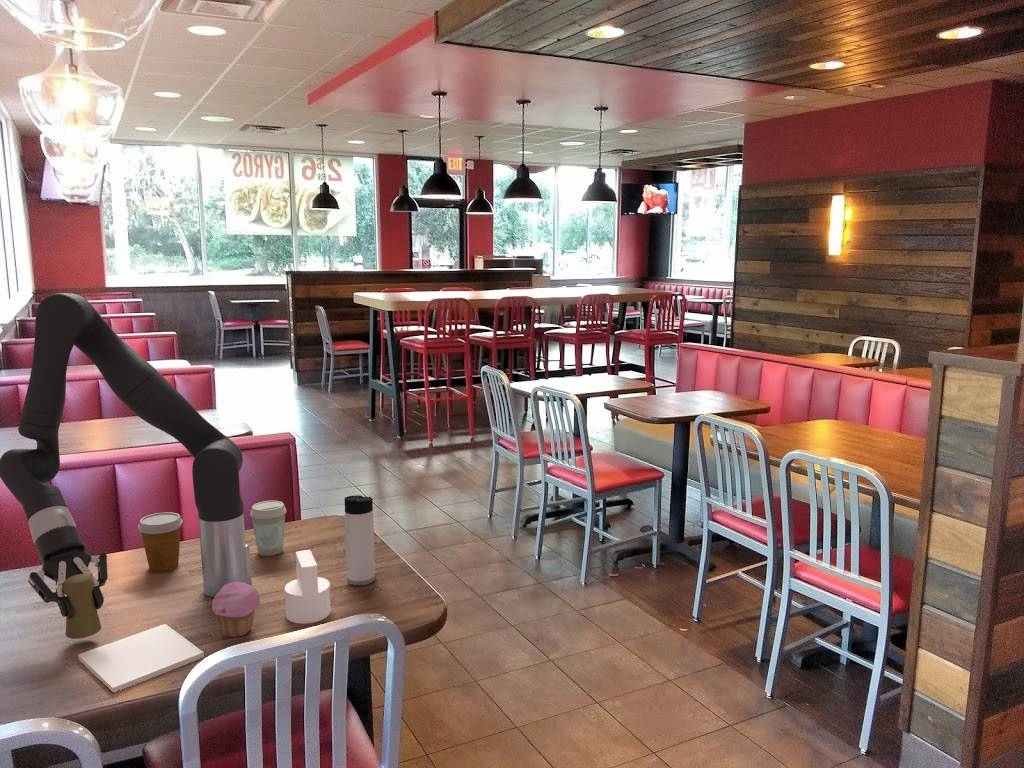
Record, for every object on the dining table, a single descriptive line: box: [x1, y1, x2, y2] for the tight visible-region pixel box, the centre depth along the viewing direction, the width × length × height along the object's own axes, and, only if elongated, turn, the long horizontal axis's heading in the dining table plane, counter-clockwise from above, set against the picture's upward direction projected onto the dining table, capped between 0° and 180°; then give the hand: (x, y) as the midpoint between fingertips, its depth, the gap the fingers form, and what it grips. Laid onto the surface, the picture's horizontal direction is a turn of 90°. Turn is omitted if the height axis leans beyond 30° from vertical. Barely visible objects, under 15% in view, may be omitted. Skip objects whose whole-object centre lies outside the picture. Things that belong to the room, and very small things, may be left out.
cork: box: [63, 574, 102, 640], centre depth 148 cm, size 6×6×11 cm
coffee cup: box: [249, 500, 287, 557], centre depth 192 cm, size 9×8×12 cm
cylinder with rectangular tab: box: [284, 549, 332, 624], centre depth 160 cm, size 9×9×12 cm
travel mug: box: [343, 495, 376, 586], centre depth 175 cm, size 6×7×20 cm
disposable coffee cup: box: [137, 511, 184, 573], centre depth 183 cm, size 10×10×12 cm
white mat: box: [77, 623, 205, 693], centre depth 143 cm, size 16×16×1 cm
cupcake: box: [211, 582, 261, 638], centre depth 152 cm, size 9×9×10 cm
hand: (85, 611), depth 147 cm, fingers closed on cork, 4 cm apart
